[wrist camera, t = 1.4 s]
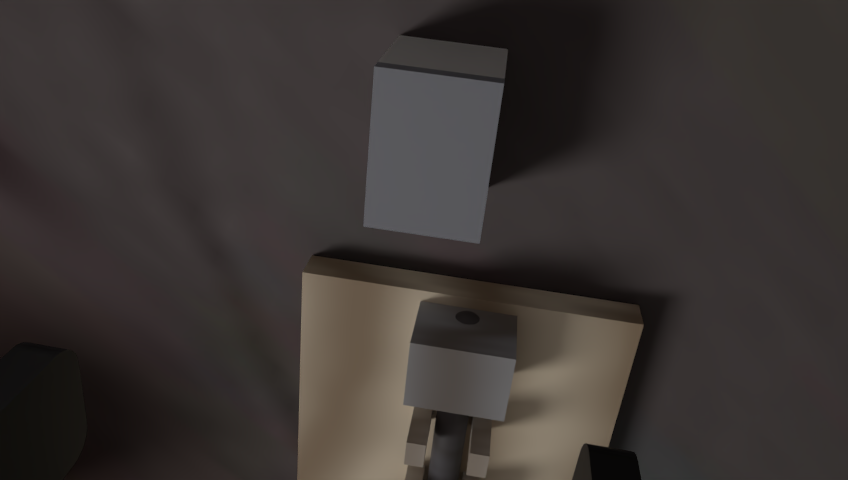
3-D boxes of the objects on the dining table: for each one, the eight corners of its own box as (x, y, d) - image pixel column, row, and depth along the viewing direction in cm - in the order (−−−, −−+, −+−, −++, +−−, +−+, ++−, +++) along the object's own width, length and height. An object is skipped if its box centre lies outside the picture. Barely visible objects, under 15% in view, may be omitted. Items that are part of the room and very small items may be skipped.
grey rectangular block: (508, 48, 26) (504, 83, 22) (487, 187, 29) (479, 243, 24) (399, 34, 26) (374, 66, 22) (388, 173, 29) (363, 226, 24)
